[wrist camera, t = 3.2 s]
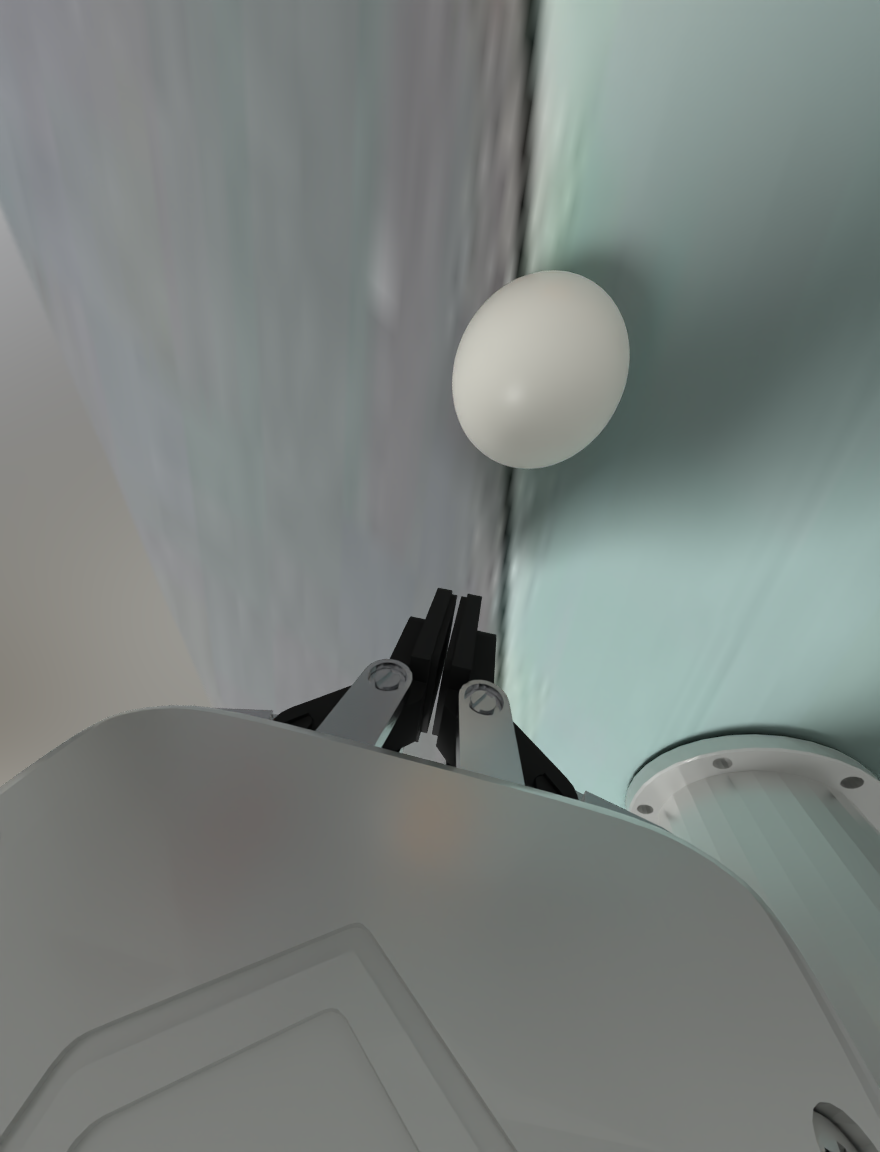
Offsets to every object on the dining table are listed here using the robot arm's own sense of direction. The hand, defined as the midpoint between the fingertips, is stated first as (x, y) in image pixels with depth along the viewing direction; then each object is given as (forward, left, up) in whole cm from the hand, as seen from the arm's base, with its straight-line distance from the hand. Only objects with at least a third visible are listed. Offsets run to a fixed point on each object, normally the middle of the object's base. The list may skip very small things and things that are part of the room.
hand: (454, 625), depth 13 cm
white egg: (+6, -6, -3) cm, 9 cm away
